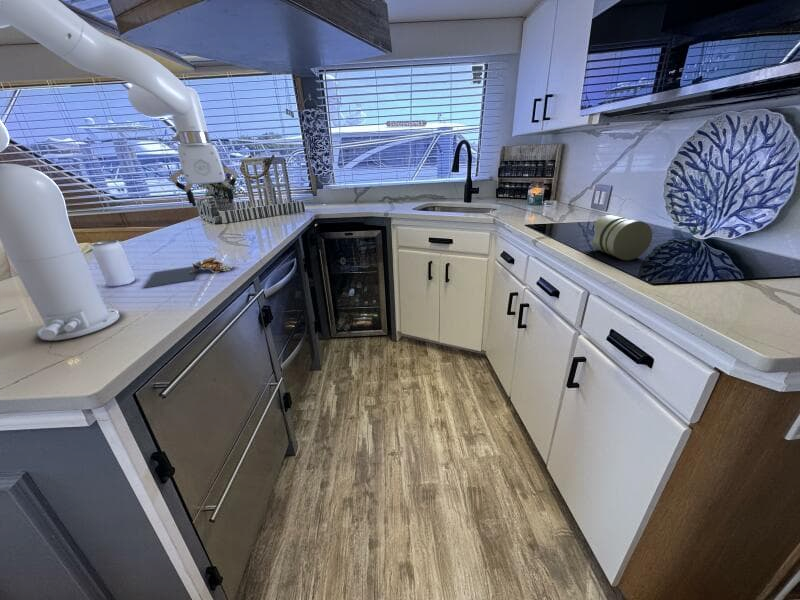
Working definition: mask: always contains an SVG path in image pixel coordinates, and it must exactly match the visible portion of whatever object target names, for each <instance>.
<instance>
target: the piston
mask: <svg viewBox="0 0 800 600" xmlns="http://www.w3.org/2000/svg"><path fill="white" fill-rule="evenodd" d="M592 226H594V233H593V238H592V241H590V242H588V243H589V245H590V246H591V248H593V249H595V250H597V251H599V252H602V253H605V254H607V255H610V256H612V257H615V258H617V259H619V260H623V261H632V260H636V259H637V258H639V257H640V256H642V255H643V254H644V253H645V252H646V251H647V250H648V249H649V247H650V245H651V243H652V240H653V230H652V228H651V226H650V224H648V223H646V222H645V221H641V220H636V219H631V218H627V217H623V216H618V215H613V214H607V215H604V216H601V217H599V218H597V220H595V221H594V223H593V224H592Z"/></svg>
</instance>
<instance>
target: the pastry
mask: <svg viewBox="0 0 800 600" xmlns="http://www.w3.org/2000/svg"><path fill="white" fill-rule="evenodd" d="M217 259H218V258H217V257H216V256H215V257H209V258H204V259H199V261H197V262H196V263H194V262H193V263H191V264H192V267H194V268H195V270H196V271H190V273H195V274H196V275H197V273H199V272H198V270H199V269H201V270H203V271H206V270H210V271H211V272H212V273H215V274H216V273H217V274H218V273H220V272H226V271H230V270H232V269H234V266H232V265H229V264H227V263H224V262H221V261H217Z"/></svg>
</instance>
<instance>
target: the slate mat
mask: <svg viewBox="0 0 800 600" xmlns="http://www.w3.org/2000/svg"><path fill="white" fill-rule="evenodd" d="M190 271H196V270H195V268H194V266H189V267H181V268H176V269H169V270H162V271H155V272H154V273H153V274H152V276H151V278H149V280H148V282H147V283H146V284H145V286H144V287H143V288H144V289H148V288H154V287H159V286H166V285H171V284H173V285H174V284H177V283H178V284H179V283H184V282H190V281H195V278H196V275H197V273H196V274H195V273H190Z"/></svg>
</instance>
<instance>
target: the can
mask: <svg viewBox="0 0 800 600" xmlns="http://www.w3.org/2000/svg"><path fill="white" fill-rule="evenodd" d="M91 246H92V249H91V251H92V254H93V256H94V258H95V261H96V263H97V265H98V268H99V270H100V273H101V275H102V277H103V280H104V282H105V284H106V286H107V287H110V288H115V287H122V286H123V287H124V286H127V285H131V284H132V283H134V282H135V280H136V277H135V276H134V273H133V270H132V268H131V267H132V266H131V265H130V262H129V261H128V257H127V255H126V252H125V249H124V248H123V245H121V243H120V242H119V240H118V239H117V240H116V239H112V240H104V241H98V242H94V243H91Z"/></svg>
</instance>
